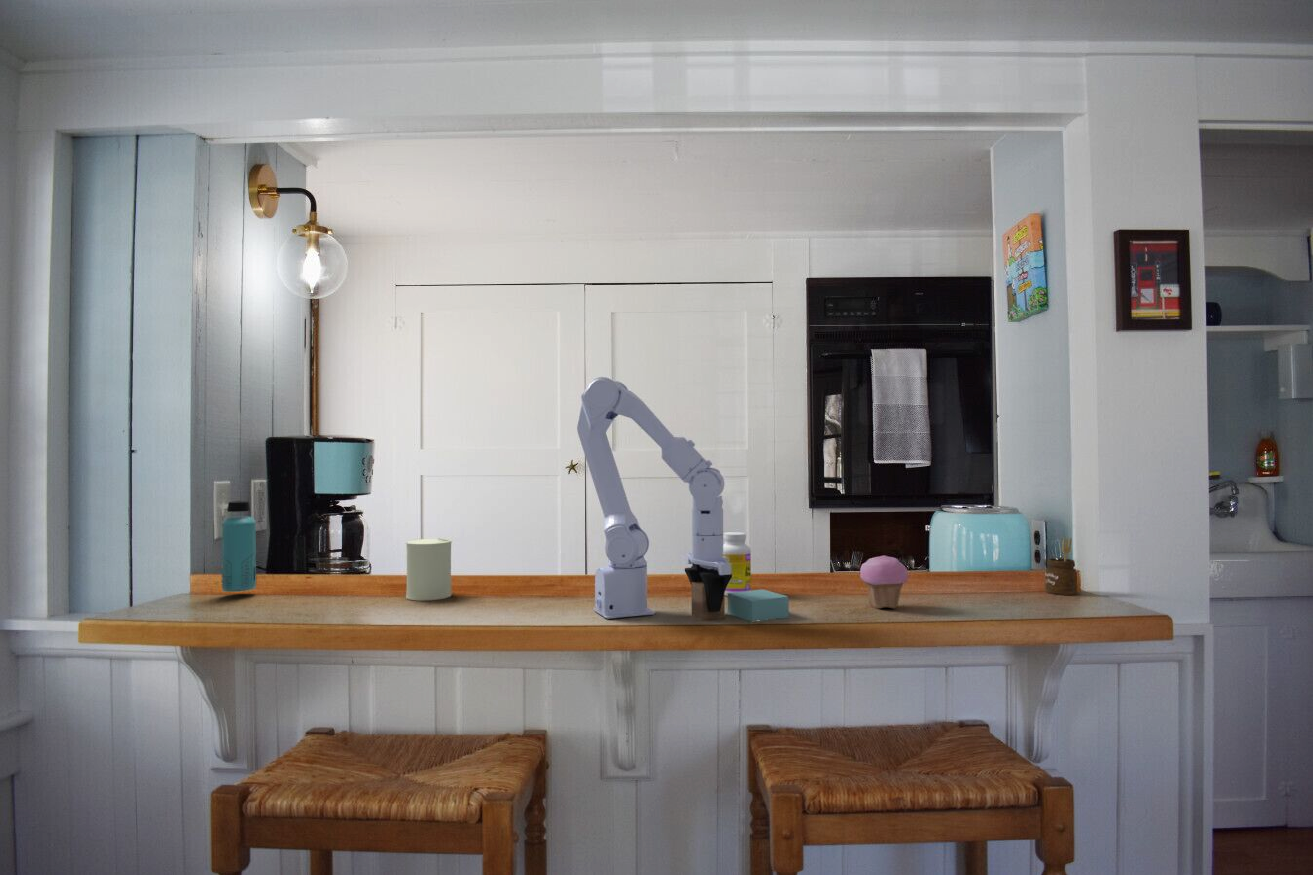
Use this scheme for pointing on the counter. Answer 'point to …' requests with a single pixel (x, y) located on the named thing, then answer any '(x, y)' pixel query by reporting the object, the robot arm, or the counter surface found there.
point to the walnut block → (704, 603)
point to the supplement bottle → (738, 562)
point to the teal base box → (758, 605)
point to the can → (428, 569)
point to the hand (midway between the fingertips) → (707, 608)
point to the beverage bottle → (238, 550)
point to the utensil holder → (1061, 573)
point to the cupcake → (883, 580)
